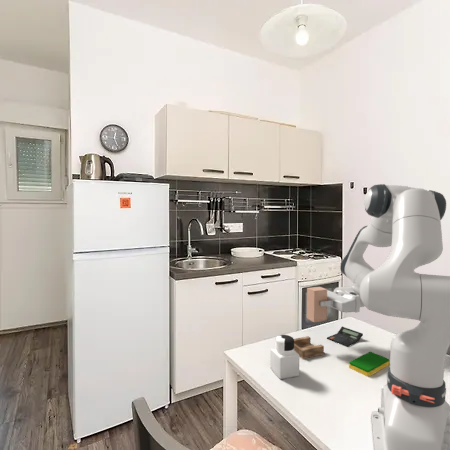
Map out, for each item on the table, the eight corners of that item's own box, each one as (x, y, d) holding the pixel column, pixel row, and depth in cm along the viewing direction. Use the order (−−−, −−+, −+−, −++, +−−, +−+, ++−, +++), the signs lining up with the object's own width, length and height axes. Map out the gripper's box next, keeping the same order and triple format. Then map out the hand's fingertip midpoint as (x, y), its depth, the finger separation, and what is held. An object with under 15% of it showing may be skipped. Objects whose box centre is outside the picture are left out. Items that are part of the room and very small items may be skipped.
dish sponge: (389, 365, 107) (390, 358, 107) (368, 378, 99) (368, 371, 99) (370, 357, 113) (370, 351, 112) (348, 368, 105) (348, 361, 105)
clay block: (319, 316, 121) (319, 286, 121) (326, 320, 117) (327, 289, 117) (306, 318, 119) (307, 288, 119) (313, 322, 115) (314, 290, 115)
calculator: (326, 339, 128) (326, 332, 127) (342, 332, 135) (342, 326, 134) (347, 347, 120) (347, 340, 120) (362, 340, 127) (363, 333, 127)
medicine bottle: (288, 365, 106) (289, 331, 105) (299, 376, 99) (300, 340, 98) (270, 368, 104) (270, 334, 103) (280, 379, 97) (280, 343, 96)
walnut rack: (306, 342, 124) (307, 335, 124) (325, 354, 114) (325, 347, 114) (285, 346, 121) (286, 339, 120) (302, 359, 110) (302, 351, 110)
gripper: (326, 284, 132) (299, 287, 127) (363, 296, 113) (333, 300, 108) (325, 298, 132) (299, 302, 127) (362, 313, 113) (332, 318, 108)
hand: (314, 301), depth 118 cm, fingers closed on clay block, 4 cm apart
